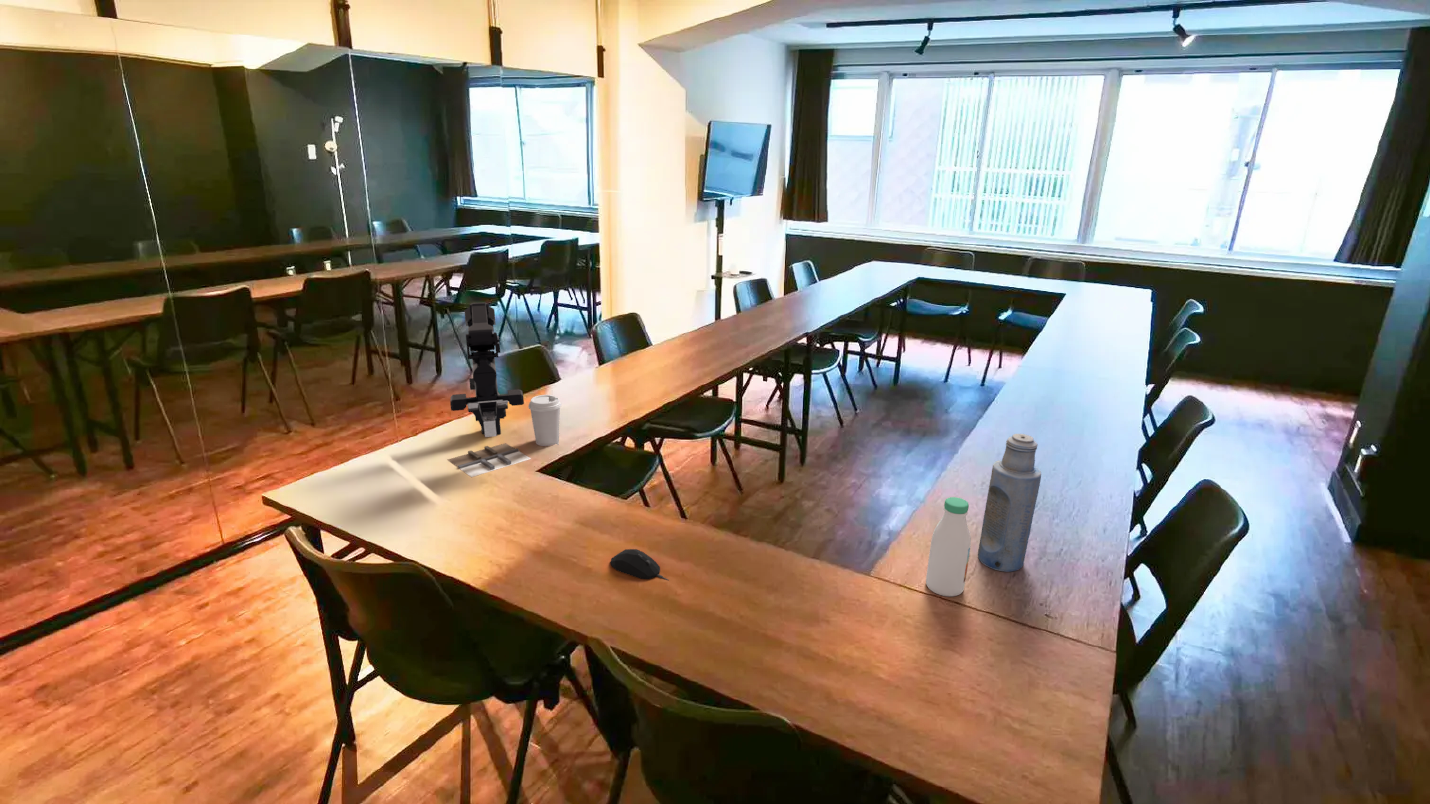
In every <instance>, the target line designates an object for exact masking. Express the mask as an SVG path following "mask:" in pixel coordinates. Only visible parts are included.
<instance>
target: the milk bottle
mask: <svg viewBox="0 0 1430 804" xmlns="http://www.w3.org/2000/svg"><path fill="white" fill-rule="evenodd" d="M969 505H970V504H969V502H968V501H967V500H966V499H964V498H961V497H956V496H949V497H948V498H945V500H944V505H943V507H944V508H943V511H944V513H943V515H942V517H941V519H940V520H939V522H938V523H937V525H936V526H935V527H934V530H933V533H932V536H931V541H930V547H929V555H928V562H927V568H926V569H927V570H926V577H925V585H926V586H927V587H928V589H929V590H930V591H931V592H932V593H935V594H937V595H940V596H943V597H950V598H952V597H956V596H959V595H961V594H962V593H963V592H964V589H965V584H966V579H967V574H968V573H967V572H968V567H969V559H970V552H971V544H972V541H971V540H972V537H971V531H970V528H969V527H968V526H969V525H968V523H967V515H968V511H969Z"/></svg>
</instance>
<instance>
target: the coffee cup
mask: <svg viewBox="0 0 1430 804" xmlns="http://www.w3.org/2000/svg"><path fill="white" fill-rule="evenodd" d="M561 407H562V402H561V400H560V399H559V397H558V396H556V395H553V394H541V395H536V396H533V397H532V398H531V399H530V400H529V404H528V409H529V410H530V414H531V420H532V426H533V432H534V433H533V434H534V438H535V443H536V445H538V446H540V447H541V446H543V447H548V446H549V447H550V446H554V445H557V446H560V445H559V443H560V419H561V418H560V414H561Z"/></svg>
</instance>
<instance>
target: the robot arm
mask: <svg viewBox="0 0 1430 804" xmlns="http://www.w3.org/2000/svg"><path fill="white" fill-rule="evenodd" d="M463 311H464V319H465V320H464V321H465V322H464V323H465V326H466V327H468V328H467V332H468V333H466V334H465V343H466V352H467V353H466V355H467V360H471V361H472V377H471V378H468V380H469V390H470V391H473V390H474V391H475V396H472V397H471V396H468V397H467V393H459V394H452V395H450V399H449V401H450V402H449V403H450V411H452V412H457V411H464V410H465V409H466V408H467V412H468V413H472V414H473V415H474V417H475V422H478V423H479V425H480V429H481V434H482V435H484V436H485V432H484V421H483V412H491V411H494V413H495V424H496V435H497V436H500V435H501V434H502V431H501V419H503V420H504V419H505V418H506V417H507V410H508V408H509V405H511V406H512V407H513V406H523V405H525V400H524V399H525V398H524V393H523V390H521V389H508V390H507V394H506V393H505V394H500V392H499V389H498V381H497V376H498V375H497V367H496V358H499V354H500V353H501V345H500V336H499V335H498V333H497V332H496V331H495V330H494V328H495V327H494V326H496V325H497V324H496V313H495V308H493V307H491V306H489V303H486V302H472V303H469V307H467V308H466V309H464V310H463ZM508 404H509V405H508Z"/></svg>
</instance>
